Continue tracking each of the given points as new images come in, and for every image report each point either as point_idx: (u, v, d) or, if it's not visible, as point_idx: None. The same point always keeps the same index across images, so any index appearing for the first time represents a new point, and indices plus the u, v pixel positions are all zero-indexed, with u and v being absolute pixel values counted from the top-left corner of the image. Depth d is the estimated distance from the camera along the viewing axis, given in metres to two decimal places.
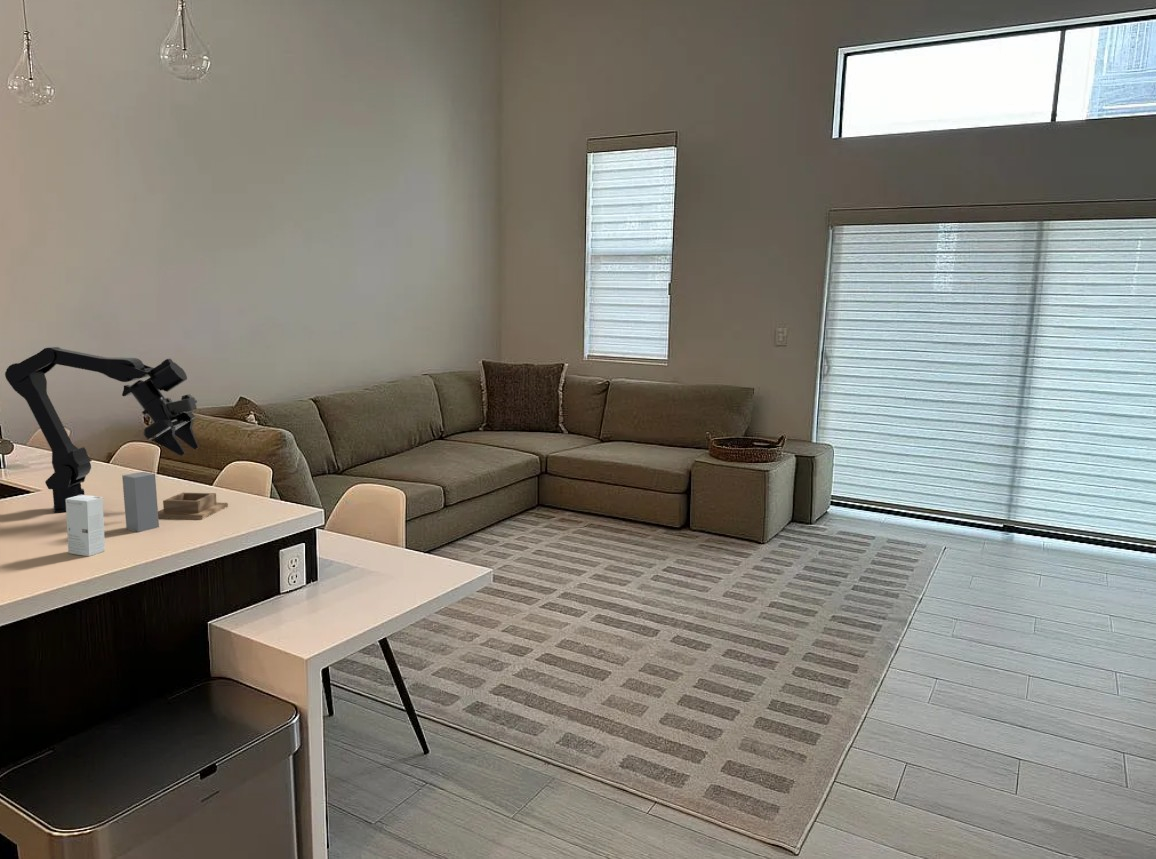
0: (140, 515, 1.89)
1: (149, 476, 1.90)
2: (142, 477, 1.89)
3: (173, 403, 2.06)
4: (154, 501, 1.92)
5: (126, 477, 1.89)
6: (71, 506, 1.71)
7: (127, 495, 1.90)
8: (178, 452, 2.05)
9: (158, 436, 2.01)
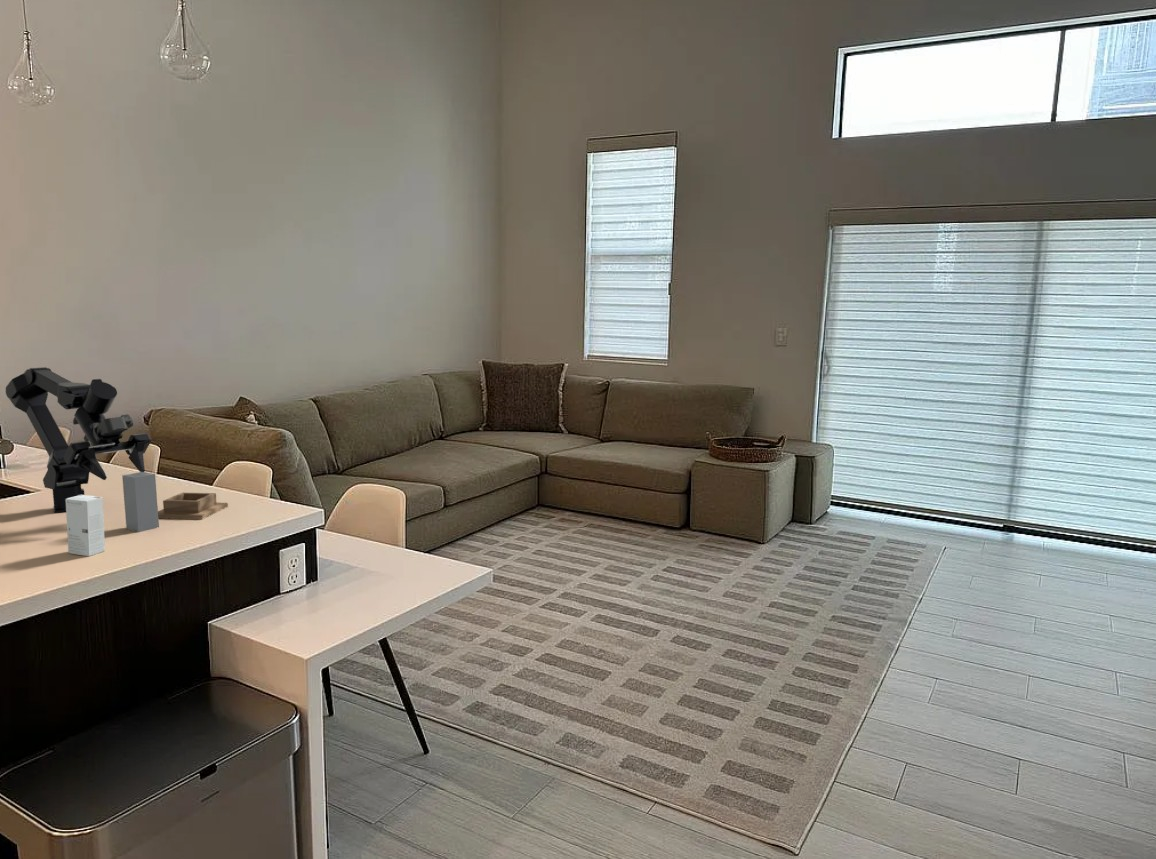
0: (140, 514, 1.89)
1: (149, 476, 1.90)
2: (142, 477, 1.89)
3: (98, 425, 1.93)
4: (154, 501, 1.92)
5: (126, 477, 1.89)
6: (71, 506, 1.71)
7: (127, 495, 1.90)
8: (101, 476, 1.90)
9: (76, 461, 1.89)
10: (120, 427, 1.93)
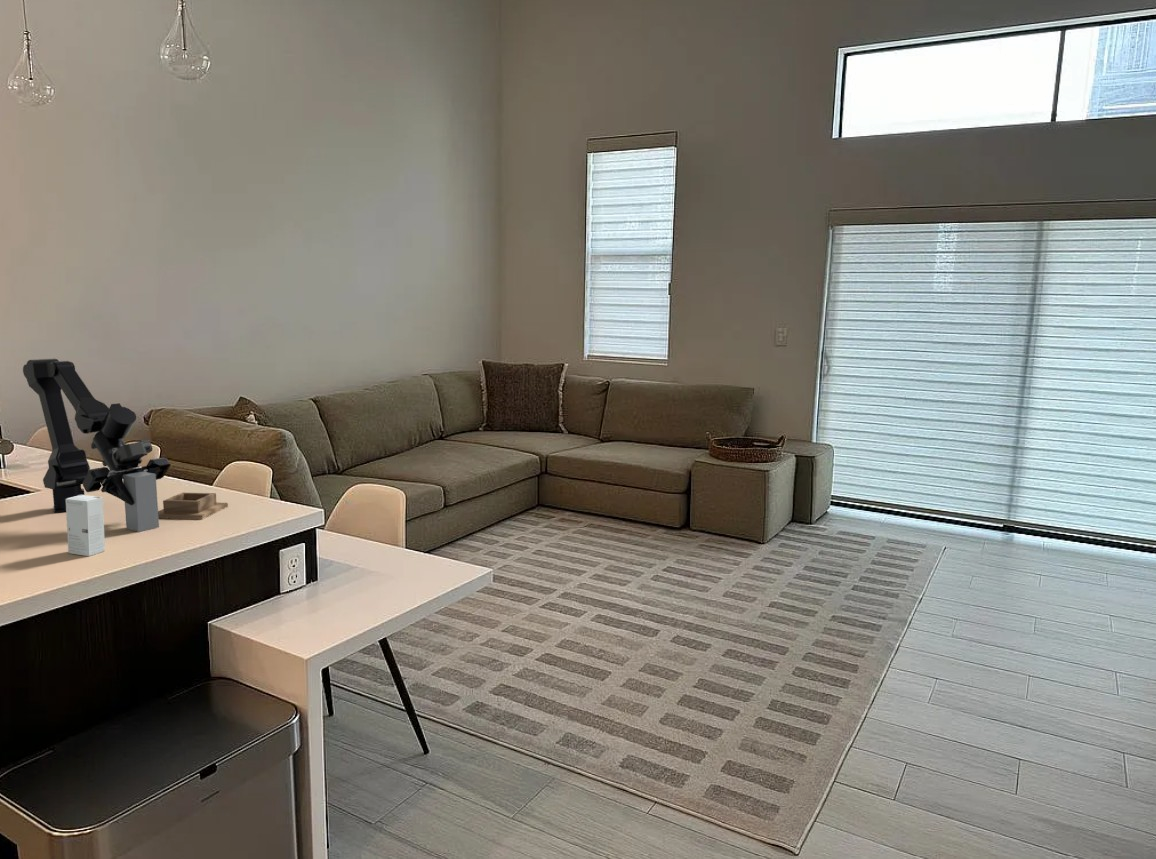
0: (141, 514, 1.89)
1: (150, 476, 1.91)
2: (143, 477, 1.89)
3: (117, 450, 1.90)
4: (154, 501, 1.92)
5: (127, 477, 1.89)
6: (71, 506, 1.71)
7: None
8: (128, 501, 1.89)
9: (103, 486, 1.88)
10: (139, 453, 1.90)
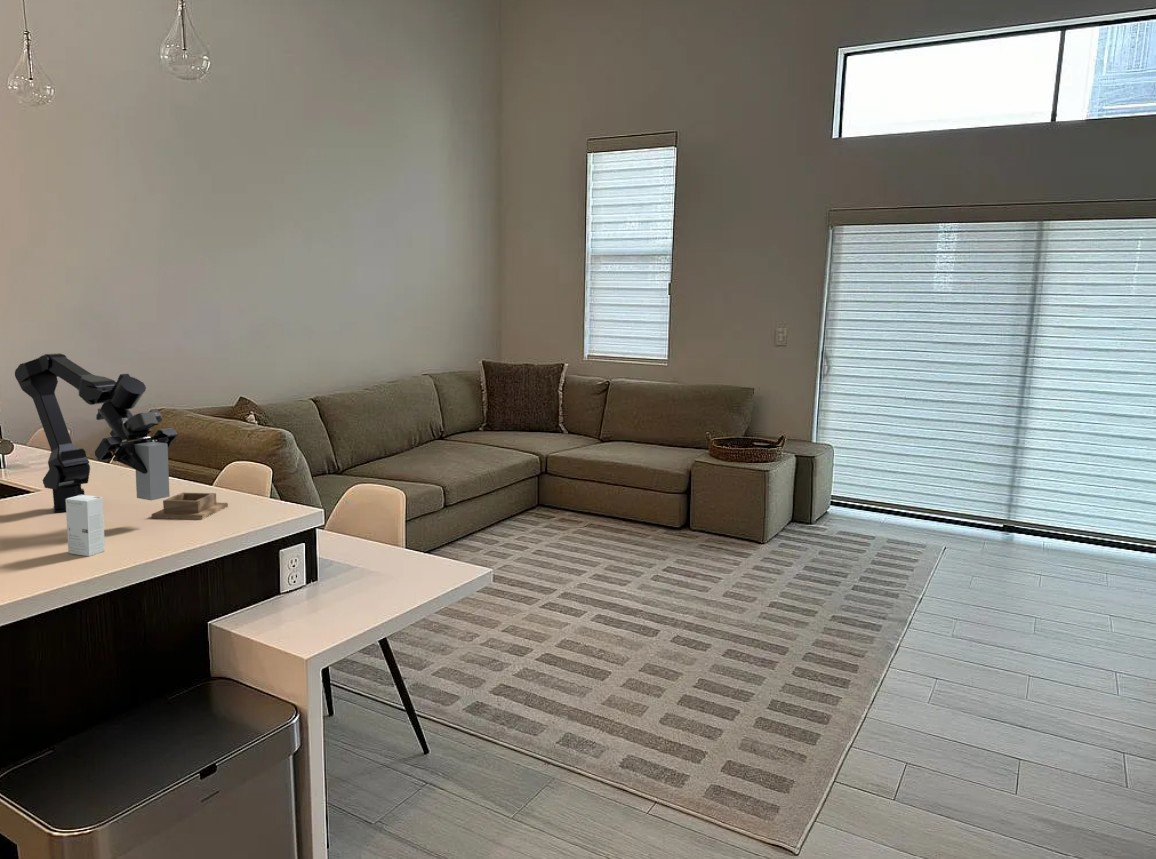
0: (153, 483, 1.92)
1: (162, 445, 1.93)
2: (155, 446, 1.91)
3: (128, 420, 1.91)
4: (166, 470, 1.94)
5: (139, 446, 1.91)
6: (71, 506, 1.71)
7: None
8: (141, 470, 1.91)
9: (116, 455, 1.89)
10: (151, 422, 1.92)
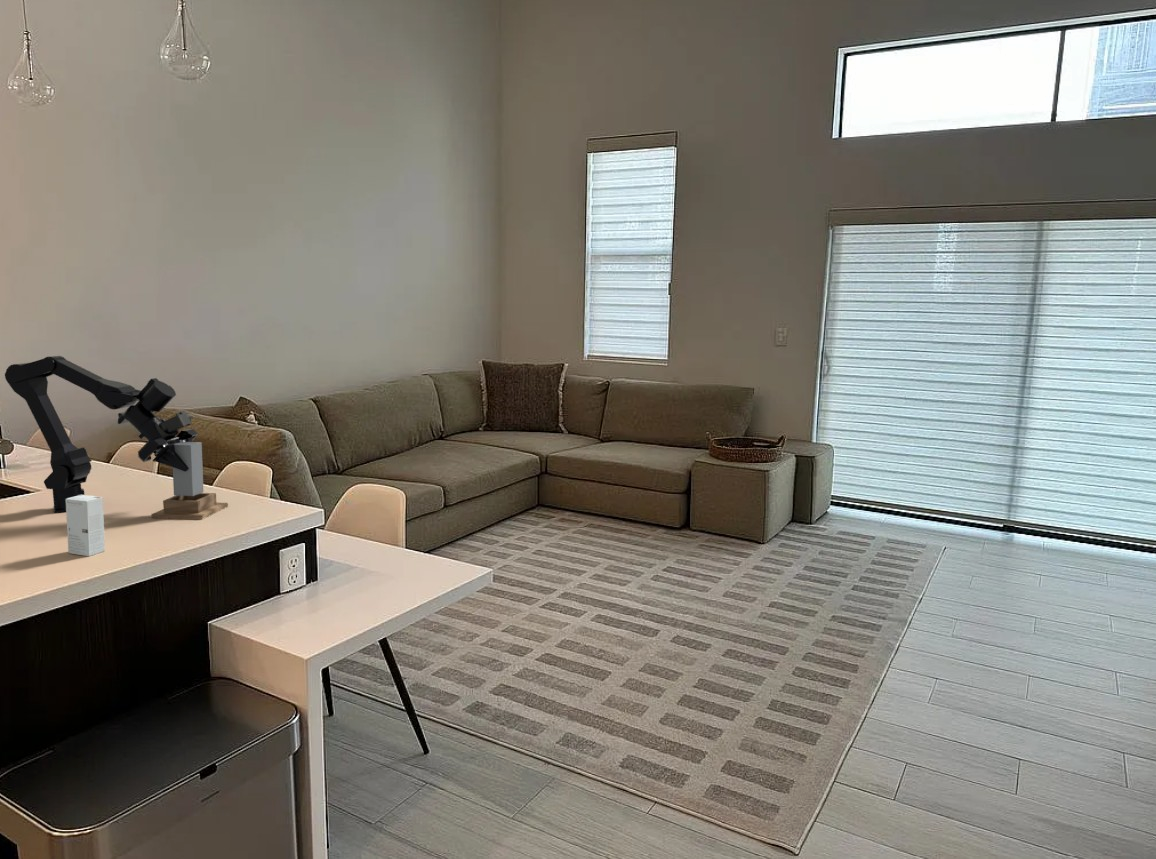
0: (194, 480, 2.04)
1: (198, 444, 2.06)
2: (195, 445, 2.04)
3: (165, 422, 2.02)
4: (201, 467, 2.07)
5: (178, 446, 2.03)
6: (71, 506, 1.71)
7: None
8: (182, 468, 2.03)
9: (157, 455, 1.99)
10: (188, 423, 2.04)
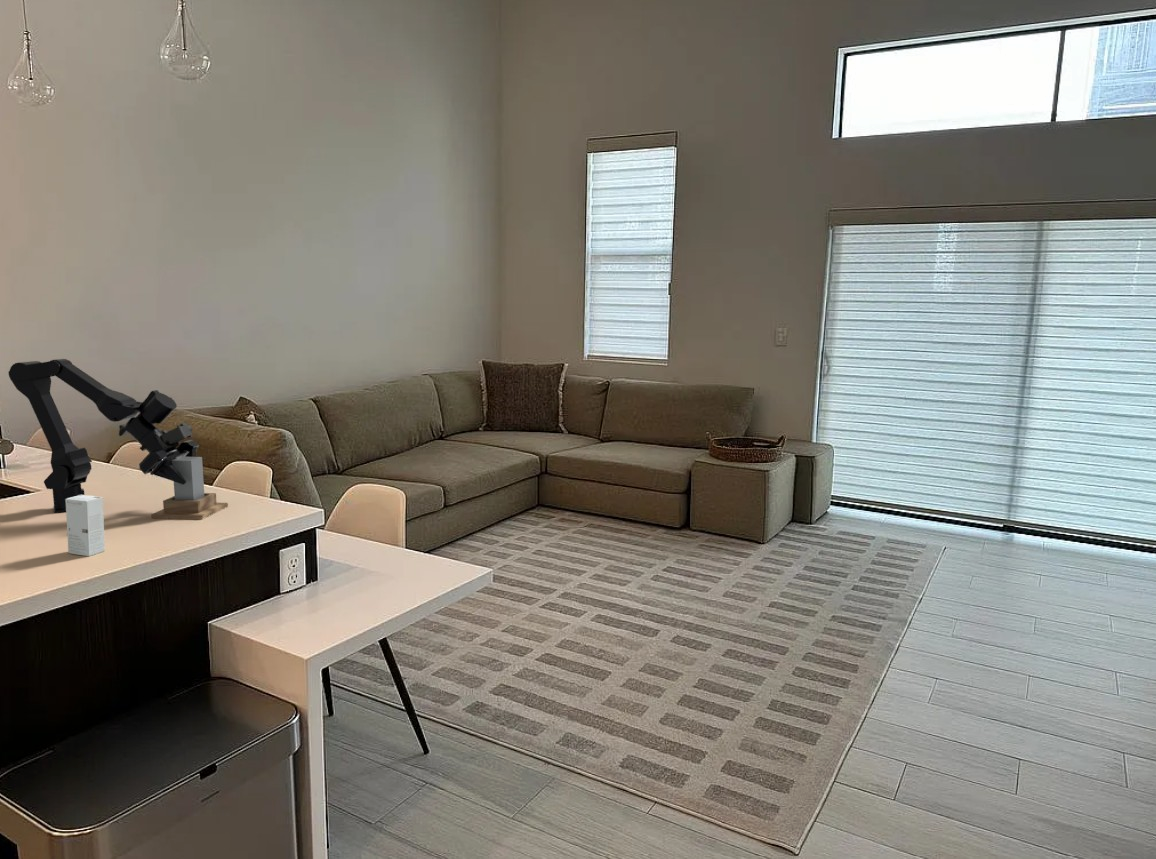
0: (195, 495, 2.05)
1: (199, 459, 2.06)
2: (195, 460, 2.05)
3: (166, 434, 2.02)
4: (202, 482, 2.08)
5: (178, 461, 2.03)
6: (71, 506, 1.71)
7: None
8: (180, 481, 2.02)
9: (155, 468, 1.98)
10: (188, 434, 2.05)
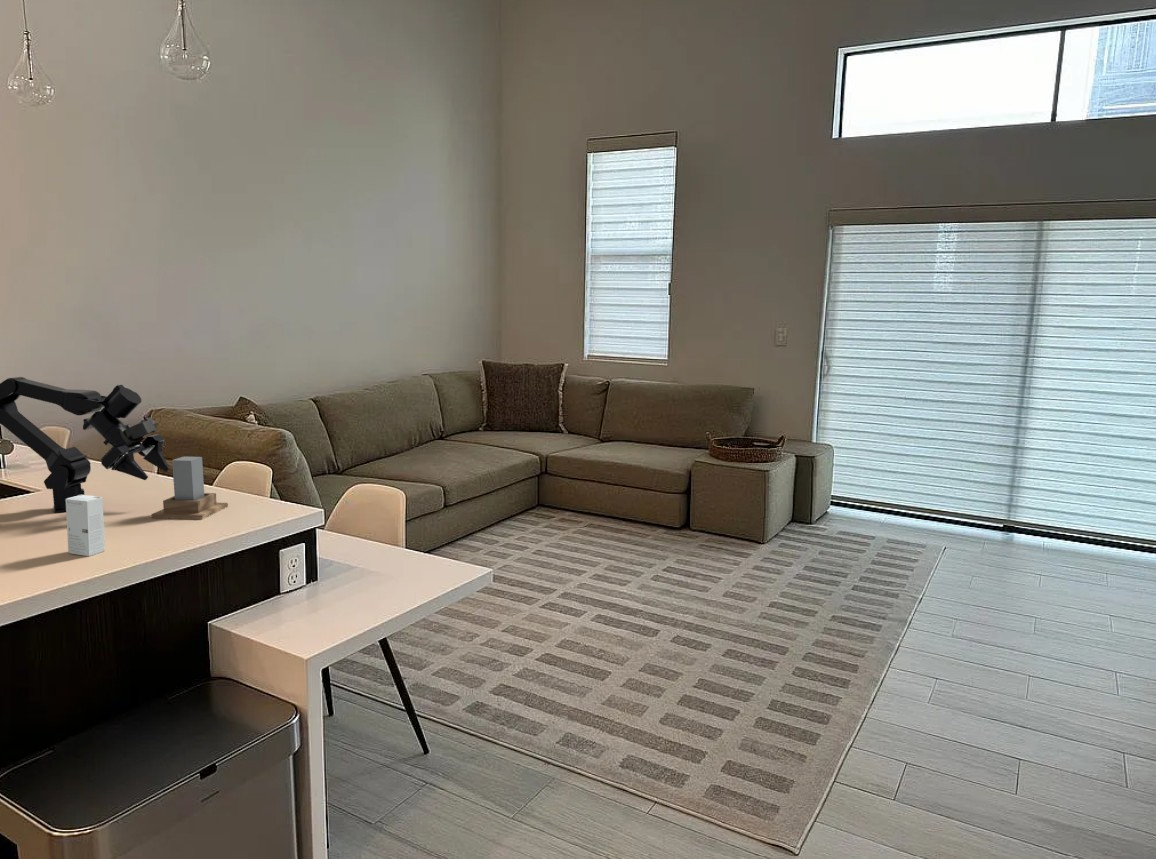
0: (195, 495, 2.05)
1: (199, 459, 2.06)
2: (195, 460, 2.05)
3: (129, 429, 2.03)
4: (202, 482, 2.08)
5: (178, 461, 2.03)
6: (71, 506, 1.71)
7: (179, 478, 2.04)
8: (141, 477, 2.02)
9: (116, 464, 1.99)
10: (152, 429, 2.05)
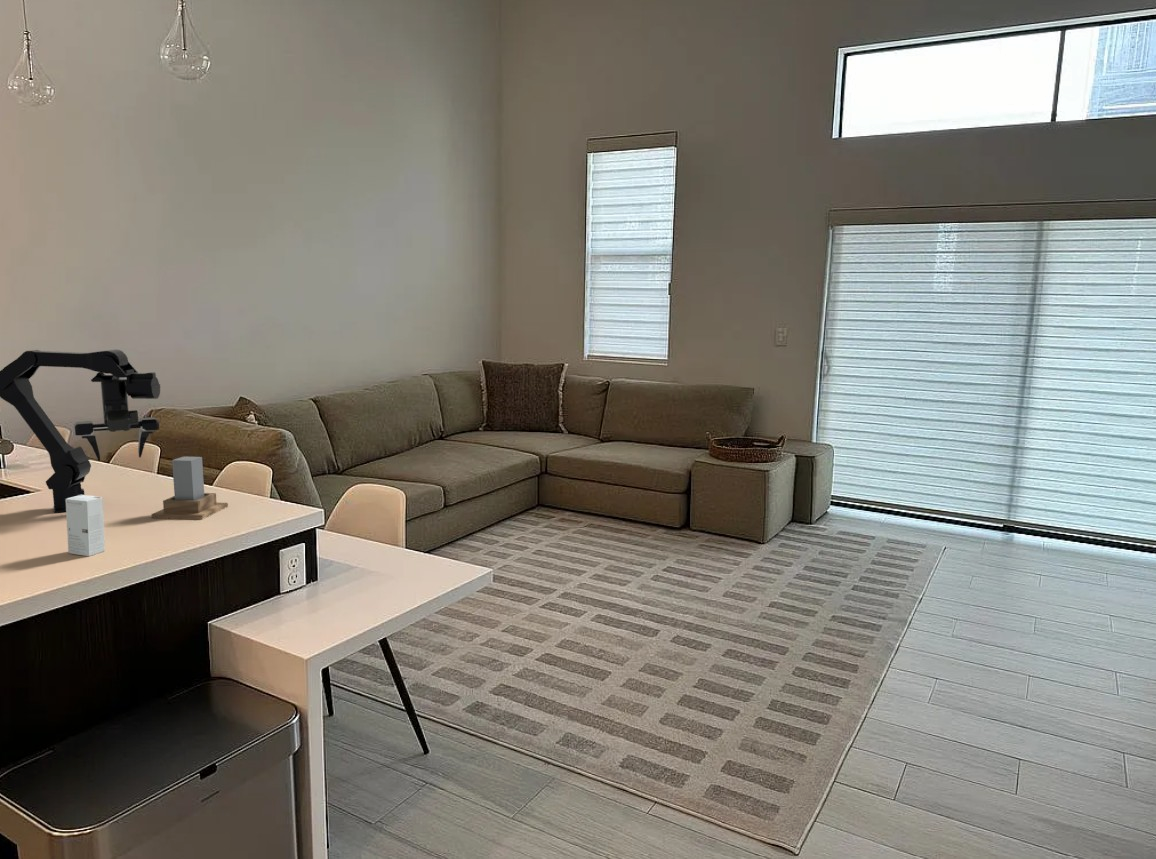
0: (195, 495, 2.05)
1: (199, 459, 2.06)
2: (195, 460, 2.05)
3: (106, 415, 2.02)
4: (202, 482, 2.08)
5: (178, 461, 2.03)
6: (71, 506, 1.71)
7: (179, 478, 2.04)
8: (97, 456, 2.07)
9: None
10: (121, 429, 2.02)
